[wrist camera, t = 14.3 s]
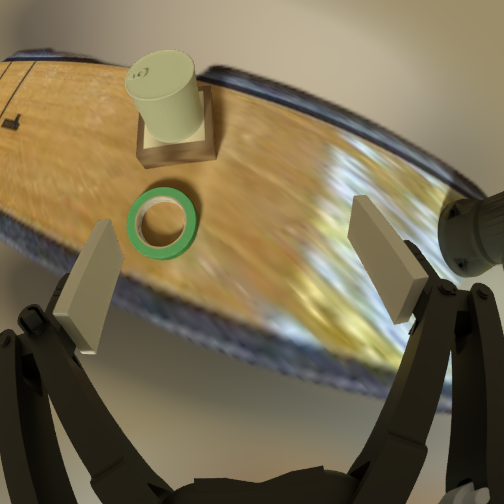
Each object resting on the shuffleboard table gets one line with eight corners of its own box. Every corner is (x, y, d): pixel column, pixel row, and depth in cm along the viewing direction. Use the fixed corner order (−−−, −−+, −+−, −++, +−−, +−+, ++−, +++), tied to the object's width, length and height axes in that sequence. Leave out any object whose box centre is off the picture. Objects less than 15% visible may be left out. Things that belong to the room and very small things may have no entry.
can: (149, 99, 43) (128, 53, 31) (204, 92, 43) (195, 42, 31) (144, 146, 41) (118, 104, 30) (204, 140, 42) (193, 92, 30)
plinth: (212, 102, 48) (210, 84, 43) (216, 159, 47) (213, 145, 42) (148, 111, 48) (140, 95, 43) (145, 169, 46) (135, 156, 41)
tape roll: (137, 190, 46) (132, 185, 44) (202, 193, 46) (200, 188, 44) (127, 257, 45) (121, 255, 42) (194, 263, 45) (191, 261, 42)
